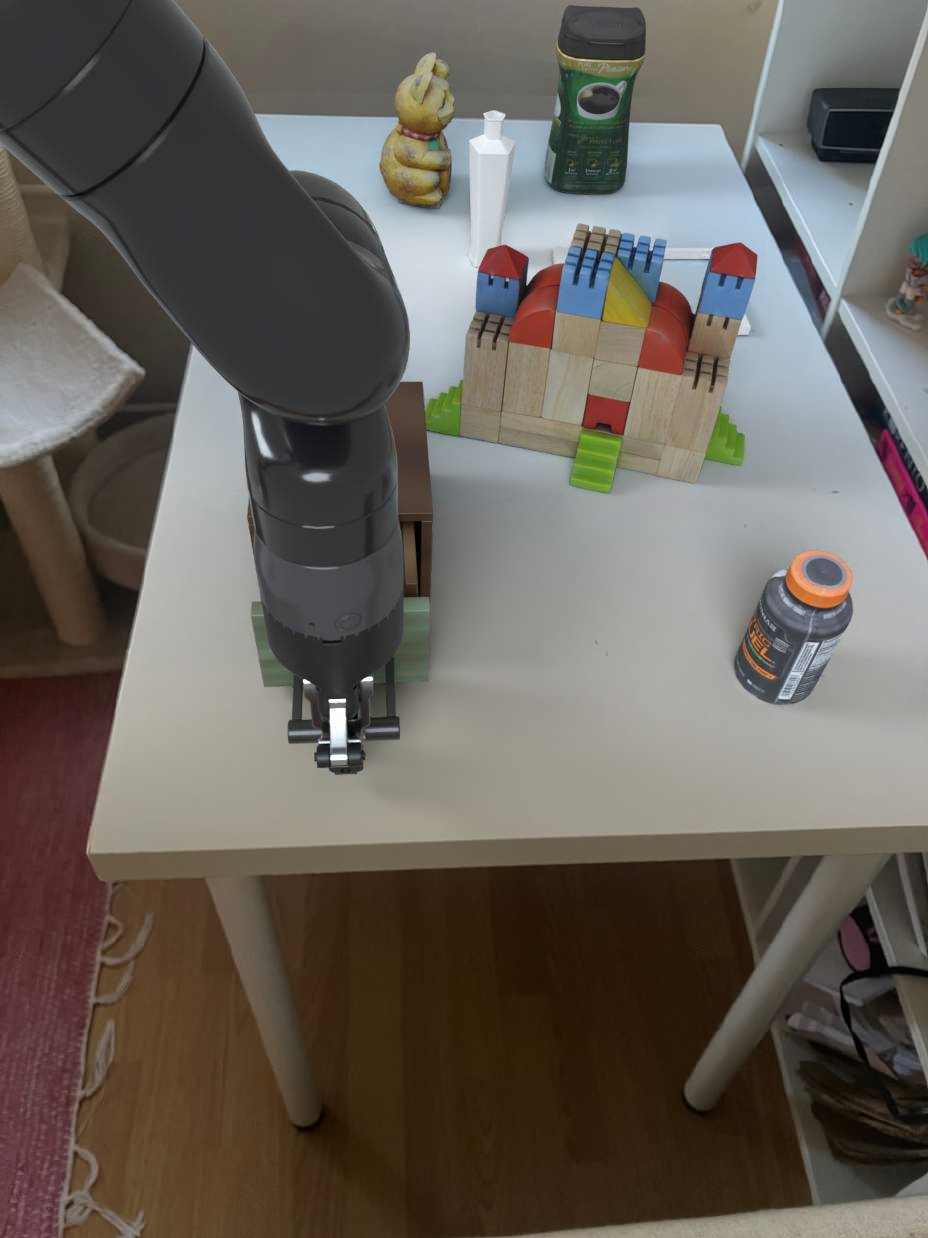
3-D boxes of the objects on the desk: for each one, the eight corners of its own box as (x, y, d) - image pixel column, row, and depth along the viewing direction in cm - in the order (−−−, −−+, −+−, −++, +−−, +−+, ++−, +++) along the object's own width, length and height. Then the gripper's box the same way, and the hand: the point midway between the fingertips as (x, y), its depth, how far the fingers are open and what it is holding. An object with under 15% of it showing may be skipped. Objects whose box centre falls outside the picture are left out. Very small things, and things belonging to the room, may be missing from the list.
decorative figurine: (451, 220, 112) (456, 79, 101) (377, 216, 112) (374, 74, 100) (452, 177, 118) (457, 40, 107) (382, 174, 118) (380, 36, 106)
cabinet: (430, 603, 76) (433, 513, 69) (262, 608, 75) (246, 516, 68) (421, 473, 85) (422, 380, 78) (271, 475, 84) (258, 382, 77)
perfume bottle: (513, 266, 107) (526, 122, 95) (475, 272, 106) (483, 128, 94) (498, 244, 109) (509, 102, 98) (460, 250, 108) (466, 106, 97)
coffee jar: (619, 166, 122) (647, -4, 108) (627, 198, 117) (658, 25, 103) (539, 163, 122) (557, -8, 107) (544, 196, 117) (564, 21, 102)
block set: (409, 454, 87) (410, 250, 72) (449, 360, 96) (458, 160, 81) (735, 520, 84) (807, 319, 69) (745, 415, 92) (811, 218, 78)
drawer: (433, 764, 66) (436, 696, 60) (258, 772, 65) (243, 703, 59) (419, 542, 79) (420, 468, 73) (272, 546, 78) (261, 470, 72)
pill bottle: (719, 649, 75) (761, 543, 66) (792, 636, 76) (842, 531, 67) (753, 714, 71) (801, 611, 62) (828, 700, 72) (886, 597, 63)
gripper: (264, 488, 56) (291, 671, 70) (251, 686, 48) (284, 853, 61) (398, 485, 57) (399, 668, 70) (409, 680, 48) (408, 846, 62)
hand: (346, 753), depth 66 cm, fingers closed
